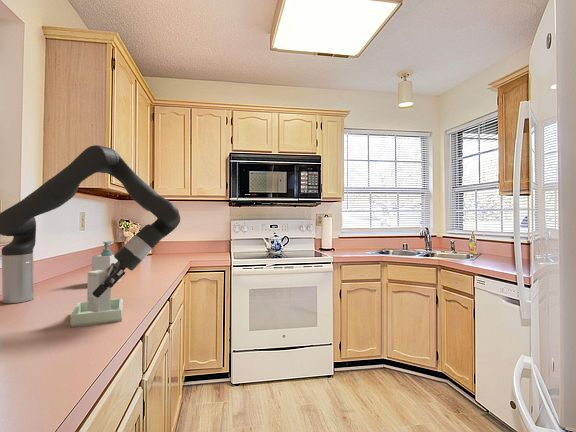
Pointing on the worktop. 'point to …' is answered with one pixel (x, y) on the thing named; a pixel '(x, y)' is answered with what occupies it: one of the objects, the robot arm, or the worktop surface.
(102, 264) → the soap bottle
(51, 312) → the worktop surface
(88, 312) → the tray
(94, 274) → the skincare box
